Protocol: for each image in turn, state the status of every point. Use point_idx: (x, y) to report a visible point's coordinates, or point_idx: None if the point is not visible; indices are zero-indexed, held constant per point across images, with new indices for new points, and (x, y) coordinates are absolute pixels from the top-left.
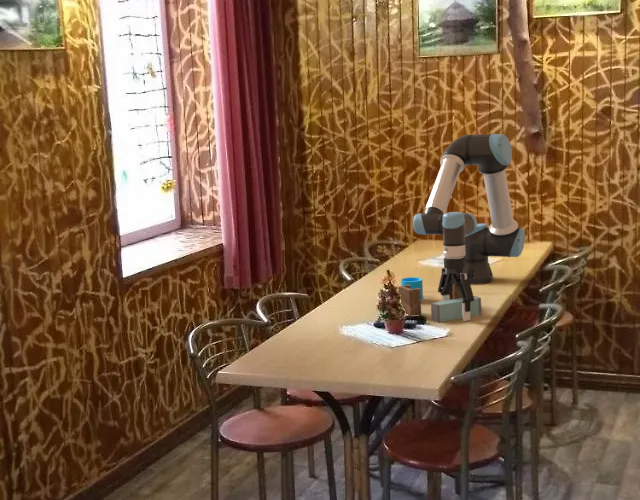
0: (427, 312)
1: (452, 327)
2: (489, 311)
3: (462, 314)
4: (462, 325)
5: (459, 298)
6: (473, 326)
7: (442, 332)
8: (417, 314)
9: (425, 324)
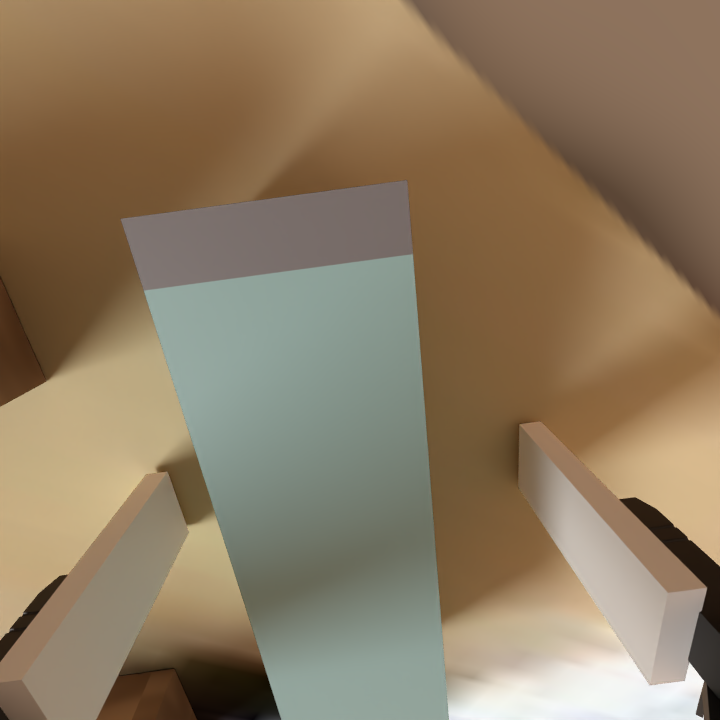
0: None
1: None
2: (276, 2)
3: (550, 533)
4: None
5: (230, 560)
6: (712, 470)
7: None
8: (176, 710)
9: None
